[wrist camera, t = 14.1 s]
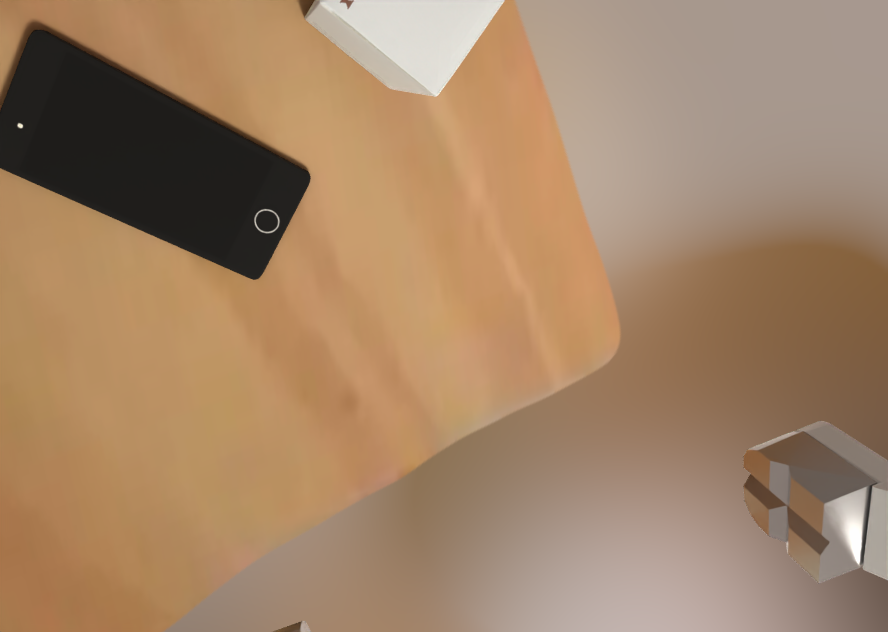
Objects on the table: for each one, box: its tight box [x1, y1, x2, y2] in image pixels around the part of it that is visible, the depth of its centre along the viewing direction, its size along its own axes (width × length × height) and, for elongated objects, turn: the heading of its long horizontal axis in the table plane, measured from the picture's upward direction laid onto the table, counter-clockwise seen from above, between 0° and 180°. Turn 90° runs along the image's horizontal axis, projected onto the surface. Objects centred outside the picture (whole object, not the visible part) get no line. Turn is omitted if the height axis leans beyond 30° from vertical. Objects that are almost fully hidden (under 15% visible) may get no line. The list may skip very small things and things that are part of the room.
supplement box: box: [305, 0, 505, 96], centre depth 35 cm, size 7×7×13 cm
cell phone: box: [0, 30, 311, 280], centre depth 40 cm, size 9×18×1 cm, turn 58°
